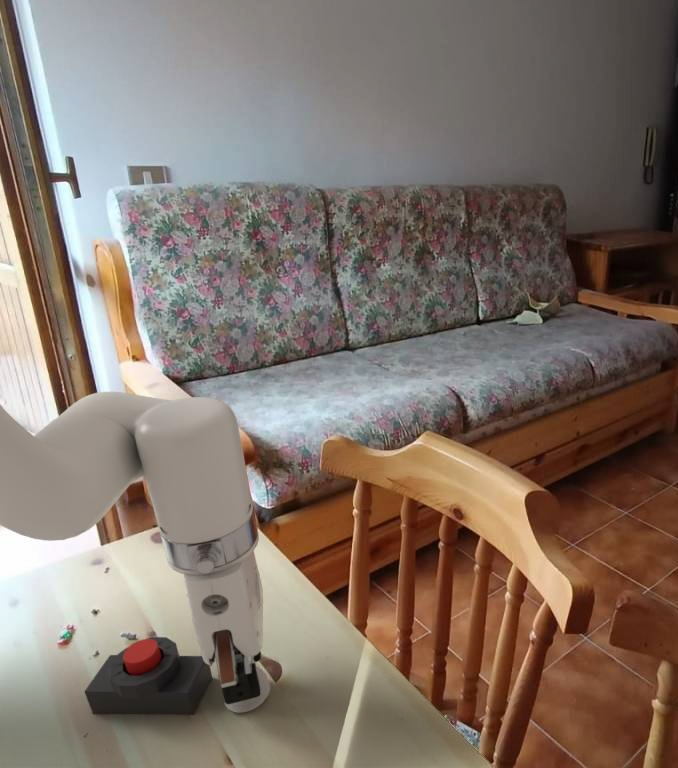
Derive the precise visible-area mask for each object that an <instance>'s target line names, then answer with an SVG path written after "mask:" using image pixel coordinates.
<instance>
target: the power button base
mask: <svg viewBox="0 0 678 768" xmlns="http://www.w3.org/2000/svg"><path fill="white" fill-rule="evenodd" d="M146 639H152V640H155V641H156V642H157V644H158V647H159V650H160V654H161V661H160V663H159V665H158V666H157V667H155V668H154V669H153V670H151V671H150V672H147V673H144V674H142V675H131V674H129V673H128V671H127V668H126V665H125V662H124V659H123V655H124V652H125V651H126V649H127V648H128V647H129V646H127V647H126V648H124V649H123V650H121V651H120V652H118V653H117V654H110V655H109V656H108V658H106V660H105V661H104V663H103V665H102V666H101V668H100V669H99V670H98V671H97V673H96V674H95V676H94V677H93V678H92V680H91V681H90V683H89V684H88V686H87V687H86V689H85V690H84V696H85V698H86V700H87V703H88V705H89V708H90V710H91V713H92V715H155V716H156V715H157V716H158V715H165V716H166V715H167V716H169V715H170V716H172V715H173V716H181V715H182V716H194V715H195V714H196V712H197V710H198V708H199V705H200V704H201V702H202V699H203V698H204V696H205V694H206V691H207V690H208V687H209V686H210V685H211V682H212V680H213V673H212V670H211V666H210V665H208V664H206V663H205V662H204V660H203V658H202V655H180V652H179V649H178V645H177V643H176V642H175V641H173V640H171V639H170V638H168V637H166V636H151V637H147V638H146ZM132 644H133V643H131V644H130V645H132Z"/></svg>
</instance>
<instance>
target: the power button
mask: <svg viewBox="0 0 678 768" xmlns="http://www.w3.org/2000/svg"><path fill="white" fill-rule="evenodd" d="M131 644H132V645H131ZM131 644H129V645H128V646H127V647H128V648H127V647H126V648H127V649H126V648H125V649H126V651H125V652H124V655H123V659H124V662H125V665H126V668H127V671H128V673H129V674H131V675H142V674H144V673H147V672H150V671H151V670H153V669H154V668H155V667H157V666H158V665H159V663H160V661H161V654H160V650H159V647H158V644H157V642H156V641H155V640H152V639H147V638H143V639H140V640H137V641H135V642H133V643H131Z"/></svg>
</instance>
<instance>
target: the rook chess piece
mask: <svg viewBox="0 0 678 768" xmlns="http://www.w3.org/2000/svg"><path fill="white" fill-rule="evenodd" d="M250 658H251V663H255V666H256V670H257V675H258V680H259V685H260V696H258V697H255V698H252V699H248V700H244V701H240V702H236V703H232V704H226V703H225V700H224V699H223V703H224V706H225V707H226V709H228V710H229V711H231V712H234V713H248V712H251V711H253V710H255V709H257V708H259V706H261V705H263V703H264V702H265V700H266V699H267V698H268V696H269V695H270V691H271V682H270V681H269V677H268V675H267V673H266V672H265V671H264V670H263V669H261V667H259V666H258V665H257V662H255V661H254V659H253V658H254V656H250ZM235 661H236V663H239V662H243V659H242V654H238V655H235Z"/></svg>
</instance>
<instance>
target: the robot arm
mask: <svg viewBox="0 0 678 768" xmlns="http://www.w3.org/2000/svg"><path fill="white" fill-rule="evenodd" d="M142 478H144V479H145V483H146V486H147V490H148V494H149V498H150V501H151V506H152V508H153V513H154V516H155V521H156V525H157V527H158V531H159V534H160V538H161V542H162V546H163V549H164V553H165V558H166V560H167V564H168V565H169V567H170V568H171V569H172V570H173V571H174V572H177V573H179V574H181V575H183V580H184V584H185V591H186V598H187V600H188V605H189V610H190V616H191V619H192V620H191V621H192V624H193V628H194V633H195V638H196V642H197V645H198V649H199V652H200V656H202V658H203V660H204V662H205V663H206V664H208V665H209V666H210V667H211V666H213V664H214V663H216V669H217V674H218V681H219V683H220V687H221V692H222V695H223V701H224V700H225V703H226V704H232V703H236V702H240V701H244V700H248V699H252V698H255V697H258V696H260V685H259V680H258V675H257V670H256V666H257V665H256V666H255V663H257V662H259V661H261V659H262V652H261V651H262V648H263V641H264V640H263V638H264V589H263V584H262V583H263V582H262V579H261V575H260V571H259V570H260V569H259V567H258V563H257V559H256V555H255V552H254V551H255V549H256V548H257V547H258V543H259V541H260V536H259V530H258V525H257V519H256V513H255V508H254V503H253V498H252V493H251V488H250V482H249V476H248V471H247V466H246V460H245V456H244V450H243V443H242V438H241V433H240V427H239V424H238V420H237V416H236V414H235V412H234V411H233V409H232V408H231V407H230V406H229V405H228V404H227V403H225V402H224V401H222V400H219V399H216V398H213V397H207V396H206V397H205V396H191V397H182V398H178V399H173V400H172V399H164V398H157V397H151V396H145V395H141V394H140V395H139V394H135V393H129V392H120V391H98V392H94V393H91V394H88V395H86V396H83V397H82V398H80V399H78V400H77V401H75V402H74V403H73V404H71V405H70V406H69V407H68V408H67V409H66V410H64V411H63V412H62V413H60V414H59V415H58V416H57V417H56V418H54V419H53V420H51V421H50V422H49V423H48V424H47V425H45V426H44V427H43V428H42V429H41V430H39V431H38V432H36V433H35V434H32V433H31V432H30V431H29V430H27V429H26V428H25V427H24V426H22V425H21V424H20V423H19V422H18V421H17V420H16V419H15V418H14V417H12V415H10V413H9V412H8V411H7V410H5V408H4V407H3V406H2V405H1V404H0V526H1V527H3V528H5V529H7V530H9V531H11V532H14V533H16V534H18V535H19V536H22V537H23V536H24V537H27V538H30V539H33V540H40V541H45V542H46V541H48V542H54V541H65V540H68V539H72V538H76V537H78V536H80V535H82V534H84V533H86V532H88V531H89V530H90V529H92V528H93V527H95V526H96V525H97V524H98V523H99V522H100V521H101V520H102V519H103V518H105V516H106V514H107V513H109V511H110V510H111V509H112V507H113V506H114V505H115V504H116V503H117V502H118V500H119V499H120V498H121V497H122V495H123V494H124V493H125V492H126V490H127V489H128V488H129V487H130V486H131V484H132V483H134V482H136V481H137V480H139V479H142ZM238 654H242V659H243V662H239V663H236V661H235V655H238ZM250 656H254V658H253V659H254V661H255V663H251V658H250Z"/></svg>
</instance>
